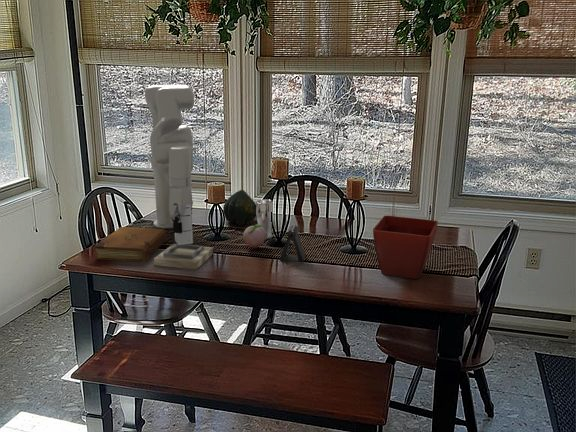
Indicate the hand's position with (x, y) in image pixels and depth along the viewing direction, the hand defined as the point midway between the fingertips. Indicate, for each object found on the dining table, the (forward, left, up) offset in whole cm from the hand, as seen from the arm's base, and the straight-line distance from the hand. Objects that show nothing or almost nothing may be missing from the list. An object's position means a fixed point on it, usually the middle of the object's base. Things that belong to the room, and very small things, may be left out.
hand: (182, 229), depth 209 cm
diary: (-4, -23, -12) cm, 26 cm away
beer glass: (-32, +21, -12) cm, 40 cm away
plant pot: (-10, +78, -12) cm, 79 cm away
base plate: (0, 0, -12) cm, 12 cm away
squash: (-48, +5, -12) cm, 50 cm away
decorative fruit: (-18, +21, -12) cm, 30 cm away
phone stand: (-11, +38, -12) cm, 41 cm away
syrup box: (0, 0, -5) cm, 5 cm away
